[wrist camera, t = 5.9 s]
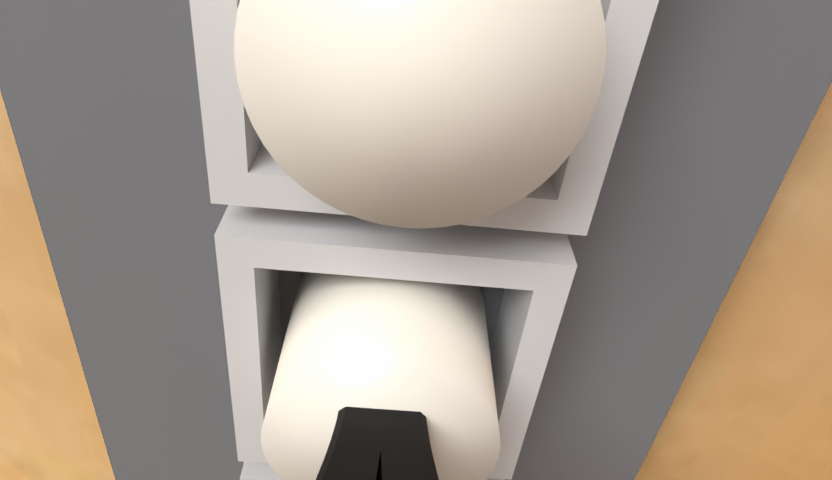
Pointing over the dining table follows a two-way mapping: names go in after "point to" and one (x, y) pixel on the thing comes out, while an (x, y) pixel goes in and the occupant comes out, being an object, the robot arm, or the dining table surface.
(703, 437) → the dining table surface
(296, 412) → the knob mid
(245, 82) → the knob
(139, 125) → the panel
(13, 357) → the dining table surface
